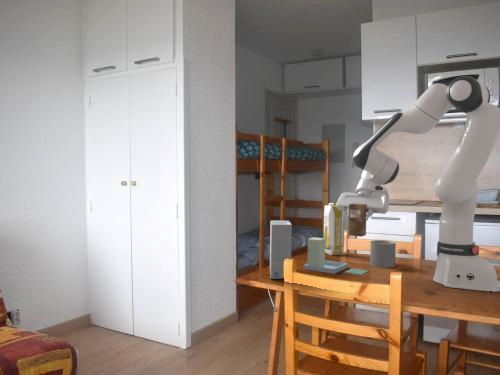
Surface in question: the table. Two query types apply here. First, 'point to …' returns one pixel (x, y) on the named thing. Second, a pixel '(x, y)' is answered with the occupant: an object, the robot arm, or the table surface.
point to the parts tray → (328, 267)
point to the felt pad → (356, 271)
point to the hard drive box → (279, 246)
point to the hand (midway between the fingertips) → (357, 218)
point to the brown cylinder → (357, 220)
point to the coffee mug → (382, 253)
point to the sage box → (316, 252)
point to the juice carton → (333, 230)
